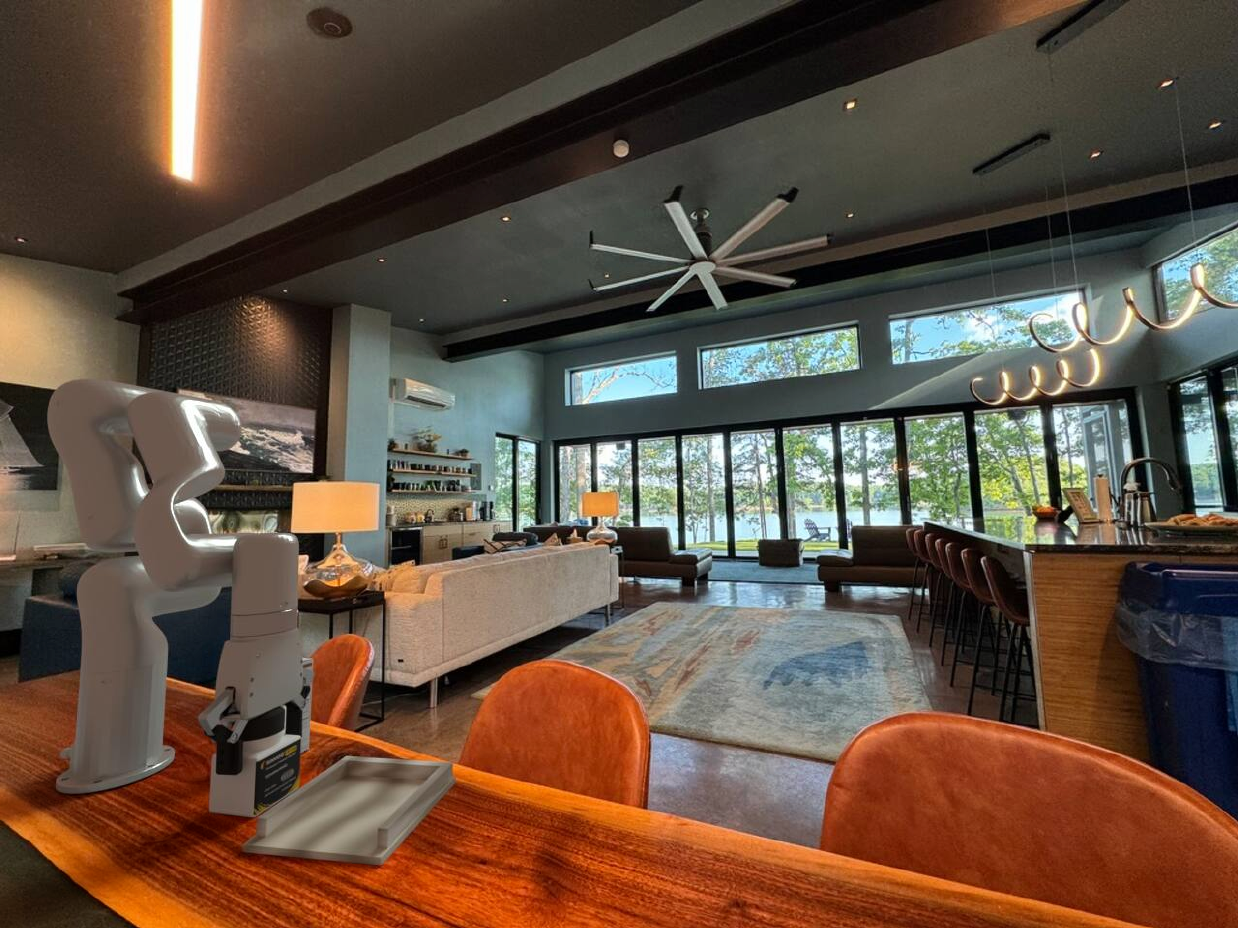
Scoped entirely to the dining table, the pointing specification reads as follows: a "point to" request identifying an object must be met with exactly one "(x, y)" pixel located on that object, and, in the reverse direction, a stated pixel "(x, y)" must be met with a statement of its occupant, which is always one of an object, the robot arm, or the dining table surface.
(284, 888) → the dining table surface
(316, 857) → the bottle stand
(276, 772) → the medicine bottle
